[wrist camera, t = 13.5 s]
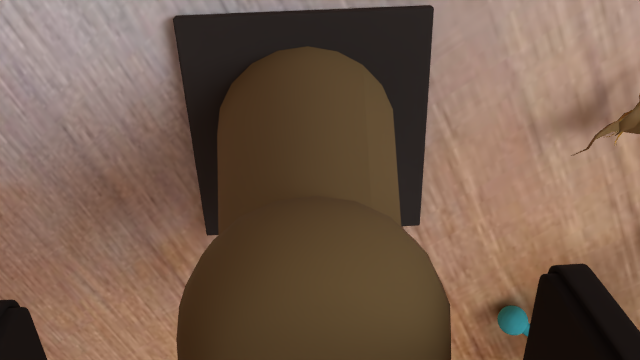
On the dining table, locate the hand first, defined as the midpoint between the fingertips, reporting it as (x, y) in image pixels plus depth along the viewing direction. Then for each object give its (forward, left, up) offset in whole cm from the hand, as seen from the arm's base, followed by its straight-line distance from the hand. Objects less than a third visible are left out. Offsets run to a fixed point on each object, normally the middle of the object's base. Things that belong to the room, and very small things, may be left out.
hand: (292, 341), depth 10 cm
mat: (+1, 0, -10) cm, 10 cm away
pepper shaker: (0, 0, -10) cm, 10 cm away
